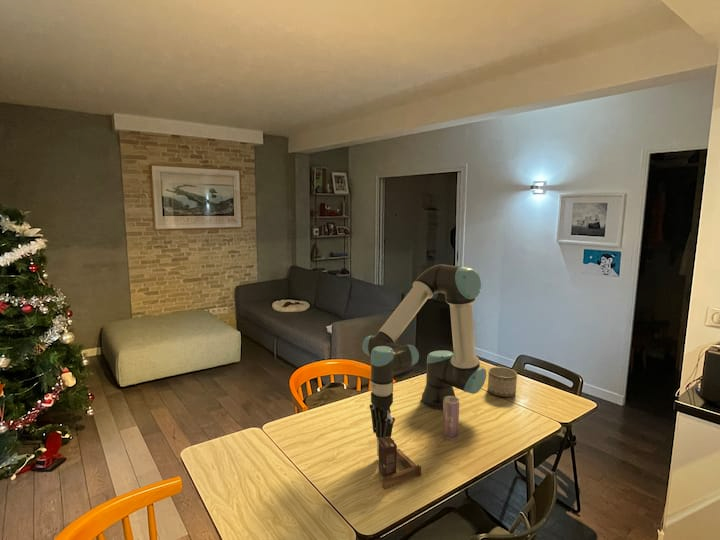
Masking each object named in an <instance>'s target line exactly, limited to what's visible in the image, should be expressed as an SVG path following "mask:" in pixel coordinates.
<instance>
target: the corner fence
mask: <svg viewBox="0 0 720 540" xmlns="http://www.w3.org/2000/svg"><path fill="white" fill-rule="evenodd" d="M397 461H398V462H399V463H400V464H401V465H402V466H403V467H404V468H405V469H403V470H401V471H398V472H397V473H394V474H392V475H389V476H386V477H382V479H381V480H382V481H381V482H382V483H381V486H382V488H383V489H384V490H387V489H389V488H392V487H395V486H397V485H400V484H402V483H406V482H408V481H411V480H414V479H416V478H417V477H421V476H422V466H421V465H420V464H416V463H415V462H414V461H413V460H411V458H410V457H408V455H406V454H405V453H404V452H403V451H402V450H401V449H400V448H397Z"/></svg>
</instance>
